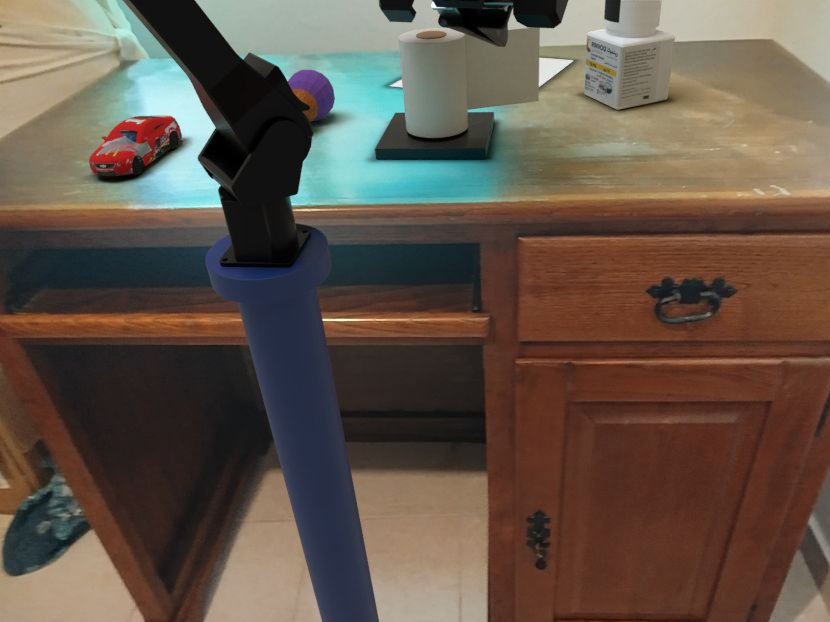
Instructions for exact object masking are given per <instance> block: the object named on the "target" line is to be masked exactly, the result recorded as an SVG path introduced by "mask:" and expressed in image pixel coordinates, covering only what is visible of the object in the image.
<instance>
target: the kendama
mask: <svg viewBox="0 0 830 622" xmlns="http://www.w3.org/2000/svg"><path fill="white" fill-rule="evenodd" d="M287 81H288V83H289V85H290V87H291V89H292V91H293V92H294V94H295V95H296V96H297V97H298V98H299V99H300V100H301V101H302V102H304V103H305V104H307V105H309V106H310V109H309V110H307V111H302V112H303V113H304V114H305V115H306V116H307V118H308V120H309V122H310V123H312V122H318V121H320V120H322V119H325V118H326V117H327V116H328V114H329V113H330V112H331V111H332V109H333V108H334V105H335V101H336V98H335V97H336V96H335V91H334V87H333V85H332V83H331V81H330V80H329V78H328V77H326V76H325V74H324V73H322V72H320V71H317V70H314V69H301V70H298V71H296V72H294V73H293V74H292V75H291V76H290V77H289V79H287Z"/></svg>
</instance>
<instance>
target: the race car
mask: <svg viewBox="0 0 830 622" xmlns="http://www.w3.org/2000/svg"><path fill="white" fill-rule="evenodd" d="M182 138H183V134H182V131H181V127H180V125H179V123H178V120H177V119H176V118H175V117H173V116H172V115H160V114H159V115H155V114H154V115H138V116H137V115H136V116H132V117H129V118H127V119H124V120H122V121H121V122H120V123H118V124H116V125H115V126H114V127H113V128H112V129H111V131H109V133H108V135H107V136H106V135H103V136H101V139H102V140H103V143H102V144H101V145H100V146H99V147H98V148H97V149H96V150H94V151H93V152H92V153H91V155H90V156H89V158H88V164H89V168H90V169H91V173H93V174H94V175H95V176H100V177H121V176H126V175H134V176H140V175H142V173H143V172H144V167H147V166H148V165H150V164H151V163H152V162H154V161H155V160H157V159H158V158H160V157H161V156H162V155H164V154H165V153H166V152H168V151H169V150H174V149H177V148H178V146H179V142H180V141H181V140H182Z"/></svg>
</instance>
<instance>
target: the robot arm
mask: <svg viewBox="0 0 830 622" xmlns="http://www.w3.org/2000/svg"><path fill="white" fill-rule="evenodd" d="M122 1H123V3H124V4H125V5H126V6H127V8H128V9H129V10H130V11H131V12H132V13H133V14H134V16H135V17H136V18H137V19H138V20H139V22H140V23H141V24H142V25H143V26H144V27H145V28H146V29H147V30H148V32H149V33H150V34H151V35H152V37H154V39H155V41H157V43H159V44H160V46H161V47H162V48H163V49H164V50H165V52H166V53H167V54H168V55H169V57H170V58H171V59H172V60H173V61H174V63H176V64H177V66H179V68H180V69H181V70H182V72H184V74H185V75H186V76H187V78H188V79H189V82H190V83H191V86H192V87H193V89H194V91H195V94H196V95H197V97H198V99H199V102H200V104H201V106H202V107H203V109H204V111H205V113H206V114H207V116H208V117H209V119H210V121H211V123H212V124H213V126H214V130H213V131H212V133H211V134H210V136H209V137H208V140H207V141H206V142H205V144H204V146H203V147H202V149H201V151H200V152H199V154H198V155H197V161H198V163H199V164H200V165H201V167H202V169H204V171H205V173H207V175H208V177H210V179H212V180H214V181H215V182H216V183H217V184H219V187H218V189H217V192H218V196H219V200H220V204H221V209H222V213H223V216H224V220H225V224H226V227H227V228H226V229H227V232H228V235H229V236H230V240H231V243H232V244H231V246H230V247H229V248H228V250H227V251H226V252H225V253H224V255H223V256H222V257H221V259H220V260H219V262H220V265H221V266H222V267H263V268H289V267H292V266H293V265H294V263H295V261H296V260H297V258H298V256H299V255H300V253H301V251H302V250H303V248H304V246H305V245H306V243H307V241H308V240H309V238H310V237H311V231H310V230H309V229H296V225H295V223H296V221H295V220H296V219H295V215H294V210H293V205H292V201H291V197H293V196H296V195H298V194H299V190H300V184H301V178H302V170H303V165H304V161H305V160H306V159H307V157H308V155H309V153H310V151H311V148H312V144H313V143H312V141H313V137H314V130H313V126H312V124H311V123H312V122H309V120H308V118H307V116H306V115H305V114H304V113H303V112H302V111H307V110H309V109H310V106H309V105H307V104H305V103H304V102H302V101H301V100H300V99H299V98H298V97H297V96H296V95H295V94H294V92H293V91H292V89H291V87H290V85H289V83H288V79H287V78H286V75H285V73H283V71H282V69H281V68H280V67H279V66H278V65H276V64H274V63H272V62H271V61H268V60H266V59H265V58H262V57H260V56H259V55H257V54H254V53H252V52H248V53H247V54H246V55H245V57H244V58H242V57H241V56H240V55H239V54H238V53H237V52H236V51H235V50H234V48H233V47H232V46H231V44H230V43H229V42H228V41H227V40H226V38H225V37H224V35H223V34H222V33H221V32H220V31H219V28H217V27H216V26H215V24H214V23H213V21H212V20H211V19H210V18H209V16H208V15H207V14H206V12H205V11H204V10H203V9H202V7H201V6H200V5H199V4H198V2H197V1H196V0H122ZM431 1H432V2H431V4H430V7H431V9H432V10H433V11H436V12H437V13H438V15H439V16H438V19H437V23H438V26H440V28H449V29H453V30H456V31H458V32H461V33H464V34H467V35H470V36H472V37H475V38H478V39H480V40H483V41H485V42H488V43H490V44H493V45H495V46H498V47H505V46H506V43H507V40H508V29H509V20H510V18H511V16H512V15H513V17H514V19H515V21H516V22H517V23H519V24H521V25H522V26H524V27H531V28H540V29H555V28H557V27H558V26H559V25H561V24H562V21H563V18H564V15H565V13H566V10H567V6H568V3H569V0H431ZM414 2H415V0H378V7H379V9H380V11H381V12H382V13H383V15H384V16H385V17H386V19H387V20H388V22H389V23H412V22H413V21H414V19H415V18H416V15H417V11H416V9H415V8H414V6H413V5H414Z"/></svg>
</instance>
